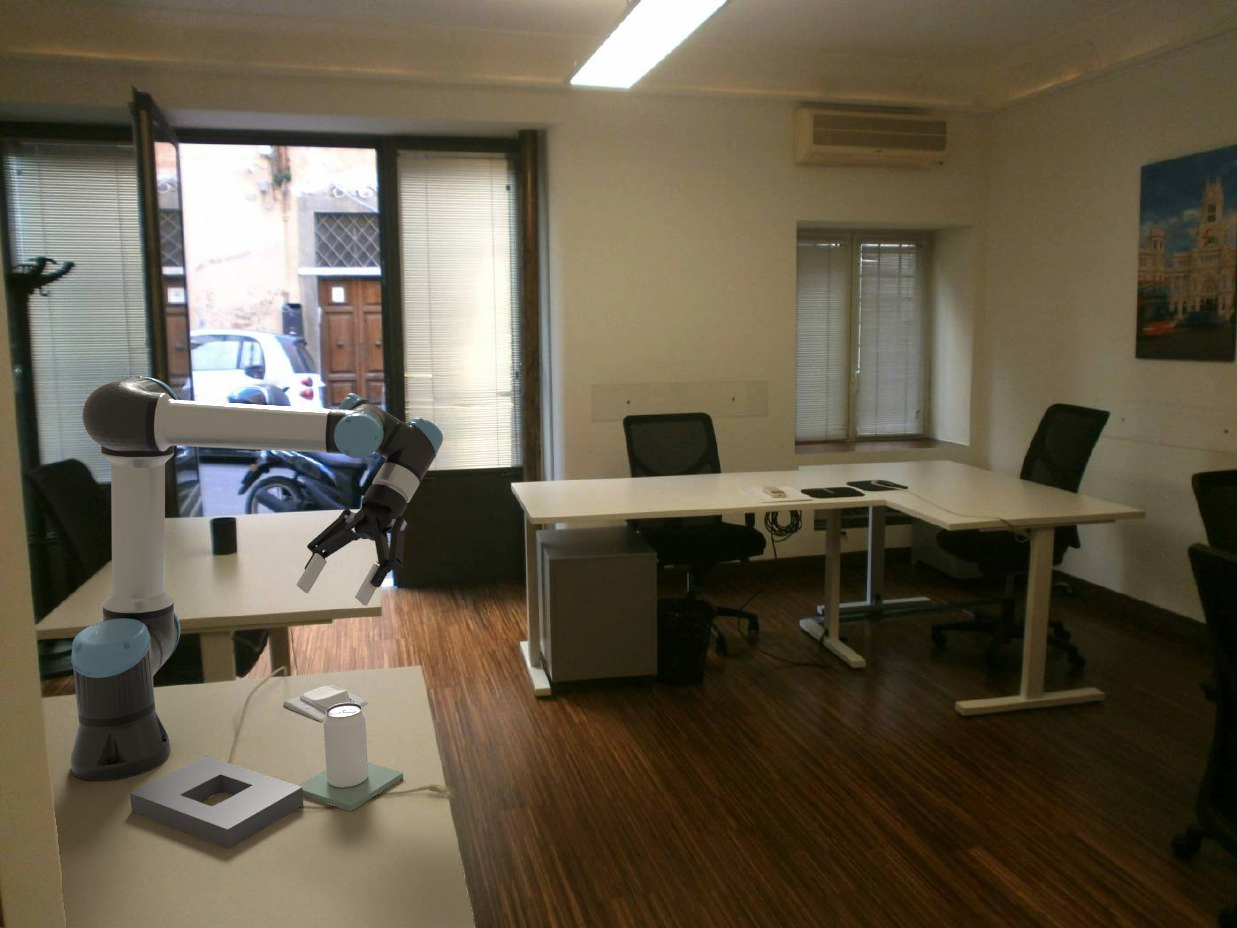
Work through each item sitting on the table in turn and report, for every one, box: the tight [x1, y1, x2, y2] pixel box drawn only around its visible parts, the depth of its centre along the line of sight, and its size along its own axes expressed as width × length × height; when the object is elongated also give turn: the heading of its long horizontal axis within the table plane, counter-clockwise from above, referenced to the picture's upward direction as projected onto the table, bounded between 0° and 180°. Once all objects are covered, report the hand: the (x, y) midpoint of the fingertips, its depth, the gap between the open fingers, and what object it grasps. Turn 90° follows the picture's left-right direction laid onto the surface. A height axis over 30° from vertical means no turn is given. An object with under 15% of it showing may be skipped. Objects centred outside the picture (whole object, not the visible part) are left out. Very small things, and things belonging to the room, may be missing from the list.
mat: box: [298, 762, 404, 813], centre depth 157 cm, size 12×12×1 cm
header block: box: [129, 756, 304, 849], centre depth 150 cm, size 22×14×3 cm, turn 61°
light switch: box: [283, 683, 369, 723], centre depth 189 cm, size 11×4×13 cm
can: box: [323, 703, 369, 788], centre depth 156 cm, size 6×6×12 cm
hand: (330, 595), depth 164 cm, fingers open, 13 cm apart
